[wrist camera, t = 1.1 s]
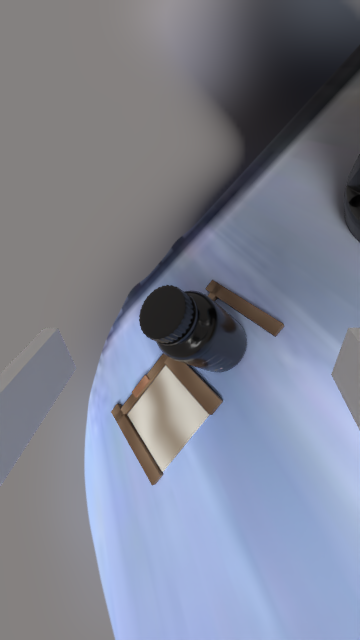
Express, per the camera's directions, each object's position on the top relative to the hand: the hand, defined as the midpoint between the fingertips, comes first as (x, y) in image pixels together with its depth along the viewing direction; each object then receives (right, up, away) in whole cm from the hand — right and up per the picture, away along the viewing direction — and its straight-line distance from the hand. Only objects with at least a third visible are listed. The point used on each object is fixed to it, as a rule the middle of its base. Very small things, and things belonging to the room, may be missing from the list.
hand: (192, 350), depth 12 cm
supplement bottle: (+4, -2, +18) cm, 18 cm away
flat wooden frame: (+1, -6, +18) cm, 19 cm away
